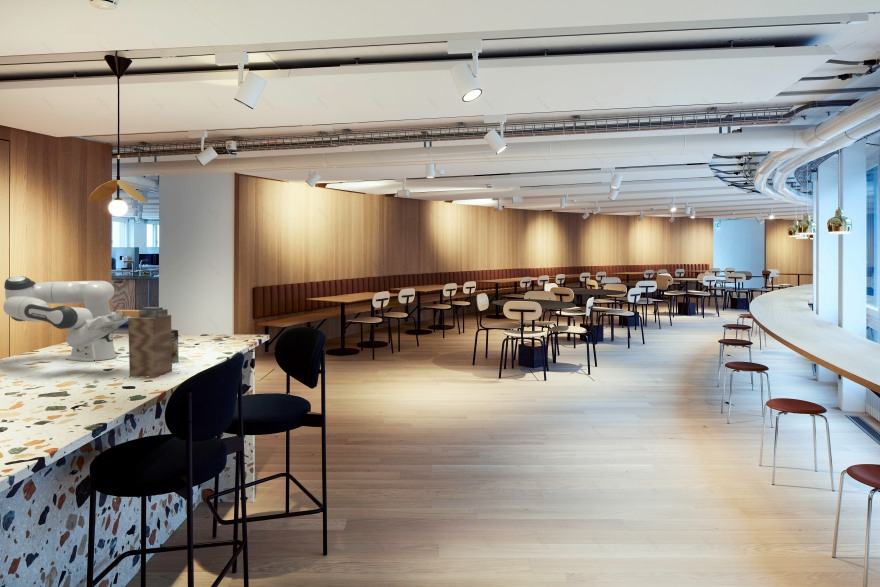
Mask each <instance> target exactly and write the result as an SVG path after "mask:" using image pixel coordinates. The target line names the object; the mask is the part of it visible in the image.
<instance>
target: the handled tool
mask: <svg viewBox="0 0 880 587" xmlns="http://www.w3.org/2000/svg"><path fill="white" fill-rule="evenodd" d="M163 309H164V308H163V307H162V306H145V307H141V310H146V311H159V310H163ZM120 311H123V312H124V315H122V316H130V317H139V309H138V310H137V309H117V310H115V314H116V313H118V312H120Z"/></svg>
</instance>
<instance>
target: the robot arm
mask: <svg viewBox="0 0 880 587" xmlns="http://www.w3.org/2000/svg"><path fill="white" fill-rule="evenodd" d="M3 285H4V286H3V288H4V293H5V294H4V296H5V301H4V303H3V311H4V312H5V314H6V315H8V316H10V318H11V319H12V320H14V321H16V322H46V323H49V324H50V325H52V326H53V327H55V328H56V329H59V330H64V329H65V330H66V329H68V333H67V335H66V338H65V342H66V343H67V345H68V346H70V347H71V348H72V349H71V352H70V355H67V356H66V357H65V359H66V360H67V359H68V361H69V360H70V361H71V360H72V361H79V362H80V361H81V362H94V360H95V361H103V360H111V359H115V358H117V353H116V351H115V345H114V332H115V331H116V330H118V328H120V326H122V325H124V324H126V323H128V318H131V316H122V315H124V312H123V311H120V312H118V313H116V312H115V313H112V310H111V308H110V300H112V299H113V297H114V294H115V287H114V285H113V284H112V283H110V282H109V281H106V280H80V281H79V280H78V281H77V280H73V281H66V280H64V281H62V280H60V281H58V280H57V281H52V280H51V281H40V282H36V281H33V280H31V279H30V278H28V277H26V276H21V275H16V276H12V277H9V278H7V279H5V281H4V284H3ZM48 304H59V305H58V306H55V307H49V305H48ZM60 304H84V307H79V306H78V307H76V306H67V305H60Z"/></svg>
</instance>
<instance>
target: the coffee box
mask: <svg viewBox="0 0 880 587" xmlns="http://www.w3.org/2000/svg"><path fill="white" fill-rule="evenodd" d="M171 334H172V364H174V362H176V363H179V362H180V361H179V359H180V358H179V330H178V329H172V328H171Z"/></svg>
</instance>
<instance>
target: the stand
mask: <svg viewBox="0 0 880 587" xmlns="http://www.w3.org/2000/svg"><path fill="white" fill-rule="evenodd" d="M138 310H139V309H138ZM130 317H131V316H130ZM127 323H128V360H129V361H128V363H129V367H128V368H129V377H130V376H151V377H150V378H158V377H160V375H161V376H163V375H165V373H166V374H168V373H170V372H173V363H172V334H171V329H172V314H168V309H167V308H163V310H159V311H146V310H142V309H141V310H139V317H131V318H128V321H127ZM167 372H168V373H167ZM162 374H163V375H162Z"/></svg>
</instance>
